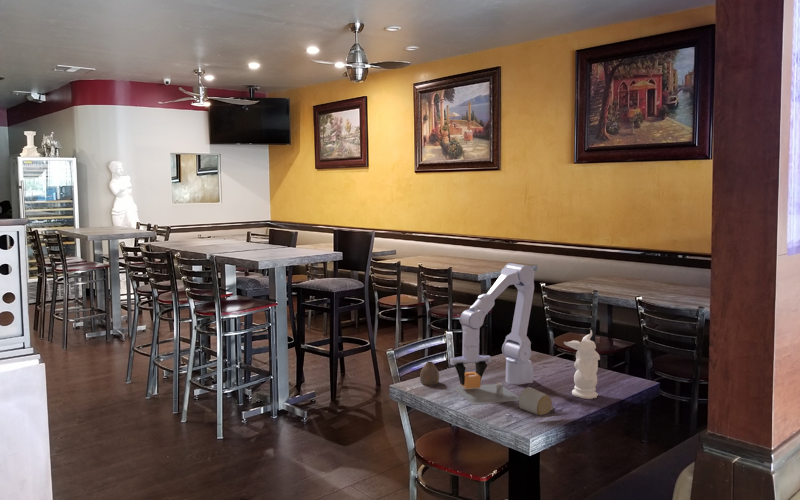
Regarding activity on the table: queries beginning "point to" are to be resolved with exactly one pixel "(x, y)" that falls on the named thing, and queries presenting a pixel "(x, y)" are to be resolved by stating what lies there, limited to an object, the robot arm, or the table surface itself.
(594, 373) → the cherub figurine
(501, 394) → the grey cubby insert
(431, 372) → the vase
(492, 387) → the board
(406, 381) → the table surface
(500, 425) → the table surface
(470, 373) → the orange cubby crate
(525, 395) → the ceramic mug
